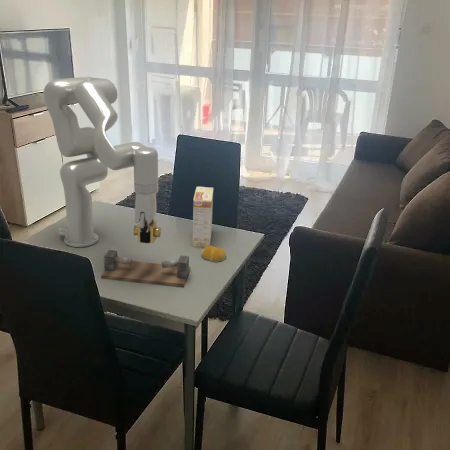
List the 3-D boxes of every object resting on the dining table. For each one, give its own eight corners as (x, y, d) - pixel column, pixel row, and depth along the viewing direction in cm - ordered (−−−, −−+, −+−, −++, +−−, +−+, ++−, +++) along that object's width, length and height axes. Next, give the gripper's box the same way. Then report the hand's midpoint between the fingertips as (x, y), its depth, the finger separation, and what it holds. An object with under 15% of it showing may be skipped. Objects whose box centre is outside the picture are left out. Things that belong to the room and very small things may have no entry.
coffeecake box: (194, 230, 205) (196, 186, 198) (212, 231, 205) (214, 187, 197) (191, 246, 192) (192, 199, 184) (209, 247, 192) (212, 200, 184)
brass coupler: (133, 241, 163) (132, 224, 161) (137, 235, 168) (136, 219, 165) (158, 244, 162) (157, 227, 160) (161, 237, 167) (161, 221, 164)
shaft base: (101, 278, 166) (100, 259, 163) (112, 261, 177) (112, 243, 174) (183, 287, 164) (184, 268, 161) (190, 270, 175) (190, 251, 172)
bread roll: (221, 264, 180) (221, 254, 179) (198, 259, 183) (199, 249, 181) (229, 255, 187) (229, 245, 186) (207, 250, 190) (207, 240, 189)
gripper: (141, 178, 166) (143, 228, 173) (126, 194, 150) (128, 249, 157) (164, 179, 165) (164, 229, 172) (151, 196, 150) (152, 251, 157)
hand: (147, 238), depth 165 cm, fingers closed on brass coupler, 5 cm apart
